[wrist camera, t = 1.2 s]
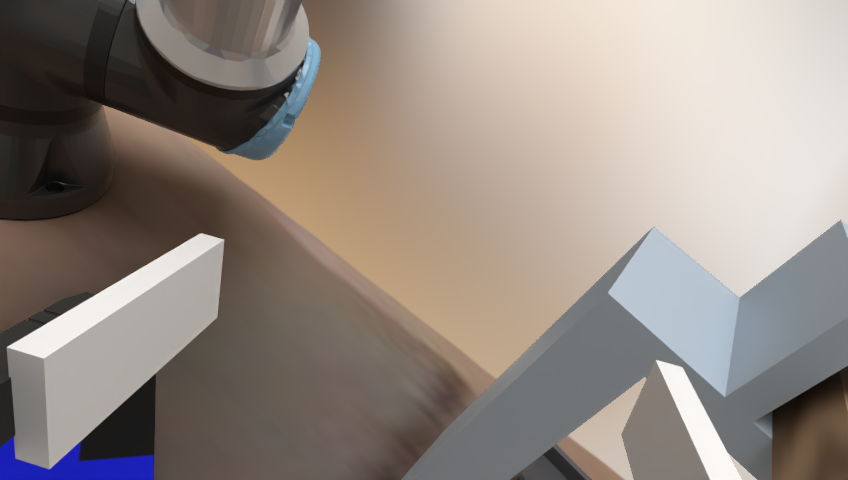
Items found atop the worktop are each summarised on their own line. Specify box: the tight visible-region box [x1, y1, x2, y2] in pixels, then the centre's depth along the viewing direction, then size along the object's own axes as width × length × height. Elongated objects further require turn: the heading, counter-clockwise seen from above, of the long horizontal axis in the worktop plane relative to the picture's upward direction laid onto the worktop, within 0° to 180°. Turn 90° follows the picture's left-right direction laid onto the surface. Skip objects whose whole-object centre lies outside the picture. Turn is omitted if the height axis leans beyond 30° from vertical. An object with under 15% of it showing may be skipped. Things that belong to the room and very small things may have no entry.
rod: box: [772, 366, 848, 480], centre depth 24 cm, size 24×4×4 cm, turn 144°
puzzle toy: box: [0, 373, 156, 480], centre depth 29 cm, size 10×10×10 cm
